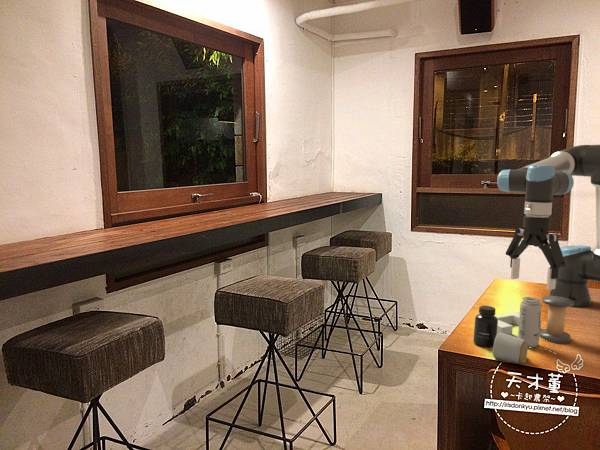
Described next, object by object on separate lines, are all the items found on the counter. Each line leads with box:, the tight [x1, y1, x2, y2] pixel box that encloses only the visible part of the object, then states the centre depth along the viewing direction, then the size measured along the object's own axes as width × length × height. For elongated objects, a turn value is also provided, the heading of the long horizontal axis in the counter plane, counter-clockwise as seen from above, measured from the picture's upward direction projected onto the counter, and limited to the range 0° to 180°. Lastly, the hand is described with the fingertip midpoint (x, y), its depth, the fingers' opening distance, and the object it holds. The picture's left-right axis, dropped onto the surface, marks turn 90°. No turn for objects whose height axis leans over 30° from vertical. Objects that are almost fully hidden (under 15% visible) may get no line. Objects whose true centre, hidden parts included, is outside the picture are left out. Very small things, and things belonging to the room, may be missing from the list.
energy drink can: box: [517, 296, 542, 349], centre depth 156 cm, size 6×6×15 cm
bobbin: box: [539, 295, 574, 344], centre depth 162 cm, size 9×9×13 cm
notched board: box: [494, 311, 542, 335], centre depth 172 cm, size 18×10×3 cm, turn 113°
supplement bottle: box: [473, 305, 498, 348], centre depth 157 cm, size 7×7×12 cm
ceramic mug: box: [492, 332, 529, 365], centre depth 146 cm, size 11×8×8 cm
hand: (532, 283), depth 154 cm, fingers open, 13 cm apart
